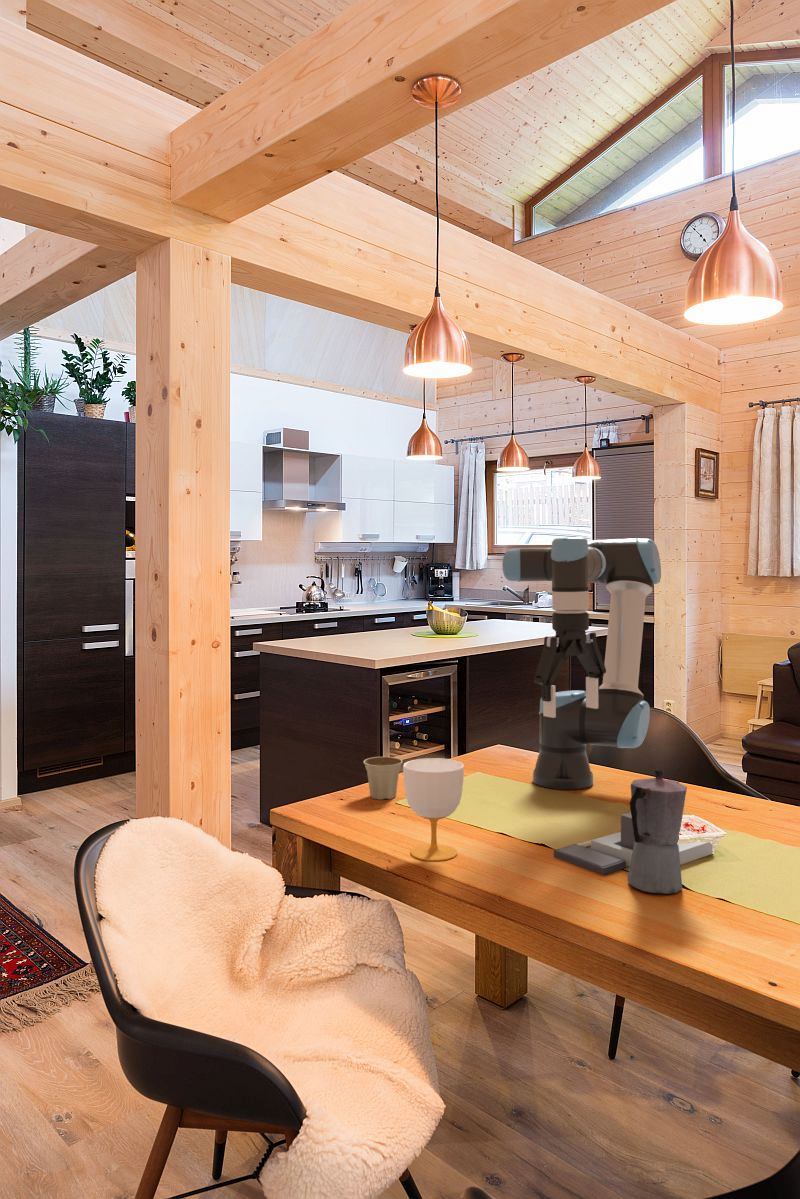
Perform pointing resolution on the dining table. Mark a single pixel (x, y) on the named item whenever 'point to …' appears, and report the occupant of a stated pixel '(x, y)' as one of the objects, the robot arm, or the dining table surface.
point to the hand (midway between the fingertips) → (571, 712)
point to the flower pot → (383, 776)
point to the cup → (433, 798)
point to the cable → (586, 843)
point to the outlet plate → (613, 848)
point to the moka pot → (656, 834)
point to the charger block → (627, 831)
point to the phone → (590, 859)
